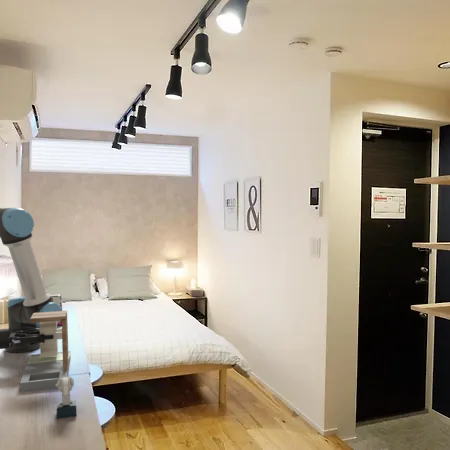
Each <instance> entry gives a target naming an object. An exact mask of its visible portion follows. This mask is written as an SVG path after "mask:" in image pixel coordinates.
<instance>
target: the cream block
mask: <svg viewBox="0 0 450 450" xmlns="http://www.w3.org/2000/svg"><path fill="white" fill-rule="evenodd" d="M39 323H40V334H44V335H45V333H54V332H57V329H58V326H57V321H48V322H39ZM58 342H59V341H58V340H47V341H45V343H42V342H41V343H40V348H39V349H40V353H39V354H41V357H51V356H57V354H58V352H59V350H58V349H59V348H58V347H59V346H58V344H59V343H58Z"/></svg>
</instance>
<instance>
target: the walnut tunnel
mask: <svg viewBox="0 0 450 450" xmlns="http://www.w3.org/2000/svg"><path fill="white" fill-rule="evenodd" d="M61 320H62V326H61V328H62V339H61V345H62V347H61V348H62V349H61V350H62V351H61V352H63V371H67V370H68V363H69V356H68V351H69V333H68V332H69V330H68V329H69V327H68V324H69V323H68V310H62V311H53V312H40V313H33V315H32V317H31V318H30V323H36V322H48V321H61Z"/></svg>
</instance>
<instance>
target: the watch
mask: <svg viewBox="0 0 450 450" xmlns="http://www.w3.org/2000/svg"><path fill="white" fill-rule="evenodd" d="M74 385H75V380H74V378H72V377H71V376H68V377H63V378H61V379H59V380H58V382H57V384H56V387H58V388H57V389H58V391H59V392H60V393H61V401H60V402H56V419H57V420H59V419H64V418H70V417H71V416H72V417H76V416H77V400H76V399H74V400H73V399H71V391H72V389H73V388H74Z"/></svg>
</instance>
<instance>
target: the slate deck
mask: <svg viewBox="0 0 450 450" xmlns="http://www.w3.org/2000/svg"><path fill="white" fill-rule="evenodd" d="M68 356H69V363H68V370H67V371H63V351H58V354H57V356H51V357H41V353H38V354H31V355H30V357H29V359H28V361H27V365H26V366H25V369H24V372H23V375H22V376H21V379H20V382H19V392H20V393H22V392H30V391H31V392H32V391H39V390H48V389H56V388H57V389H58V387H56V384H57V382H58V380H59V379H61V378H63V377H69V372H70V366H71V365H70V364H71V351H70V350H68Z"/></svg>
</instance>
